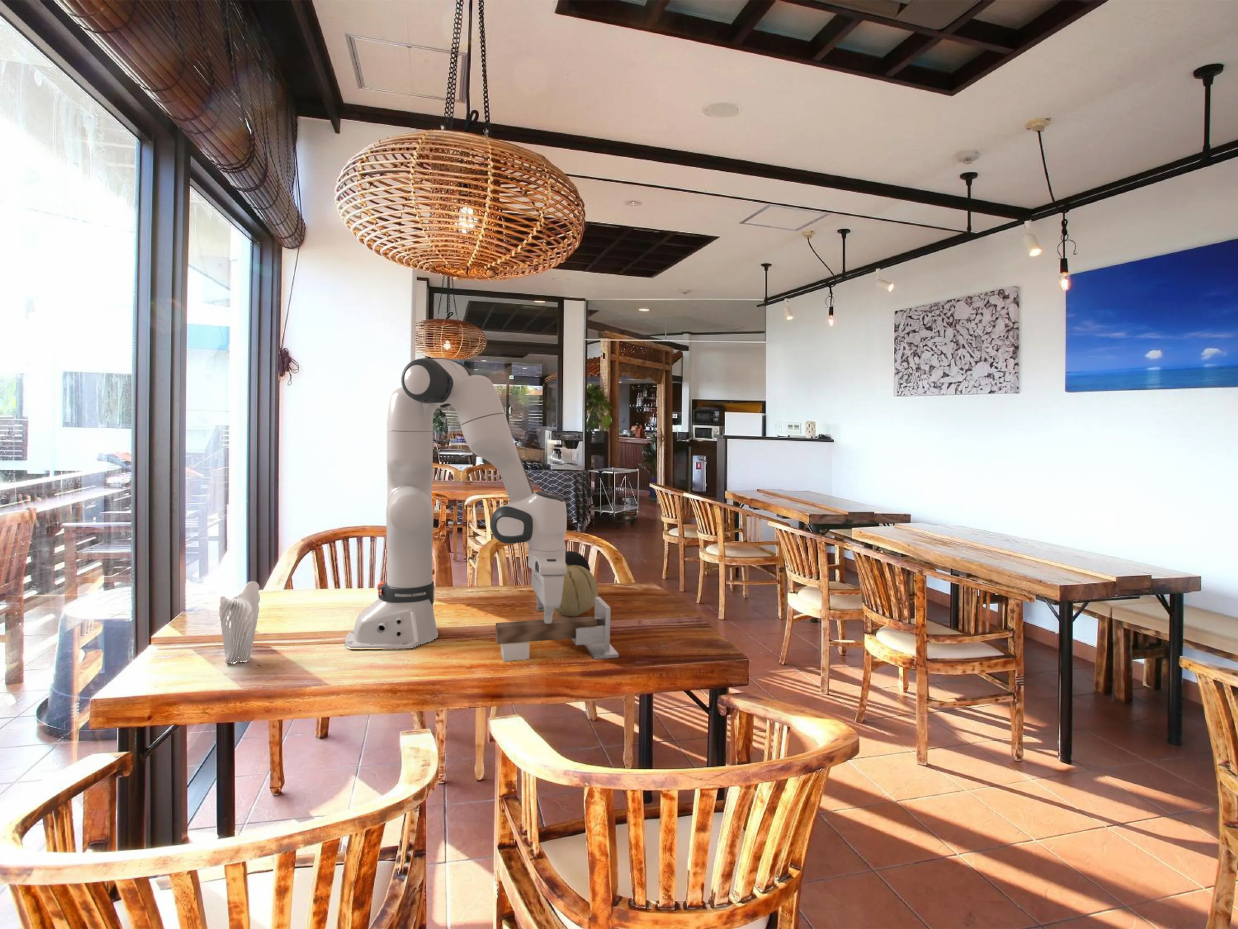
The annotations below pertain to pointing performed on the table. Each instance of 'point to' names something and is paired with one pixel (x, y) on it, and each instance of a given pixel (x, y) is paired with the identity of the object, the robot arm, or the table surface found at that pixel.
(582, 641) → the bracket
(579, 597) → the cantaloupe
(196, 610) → the table surface
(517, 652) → the pale grey block
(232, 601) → the shell sculpture
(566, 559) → the black rounded lump
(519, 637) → the walnut rail
